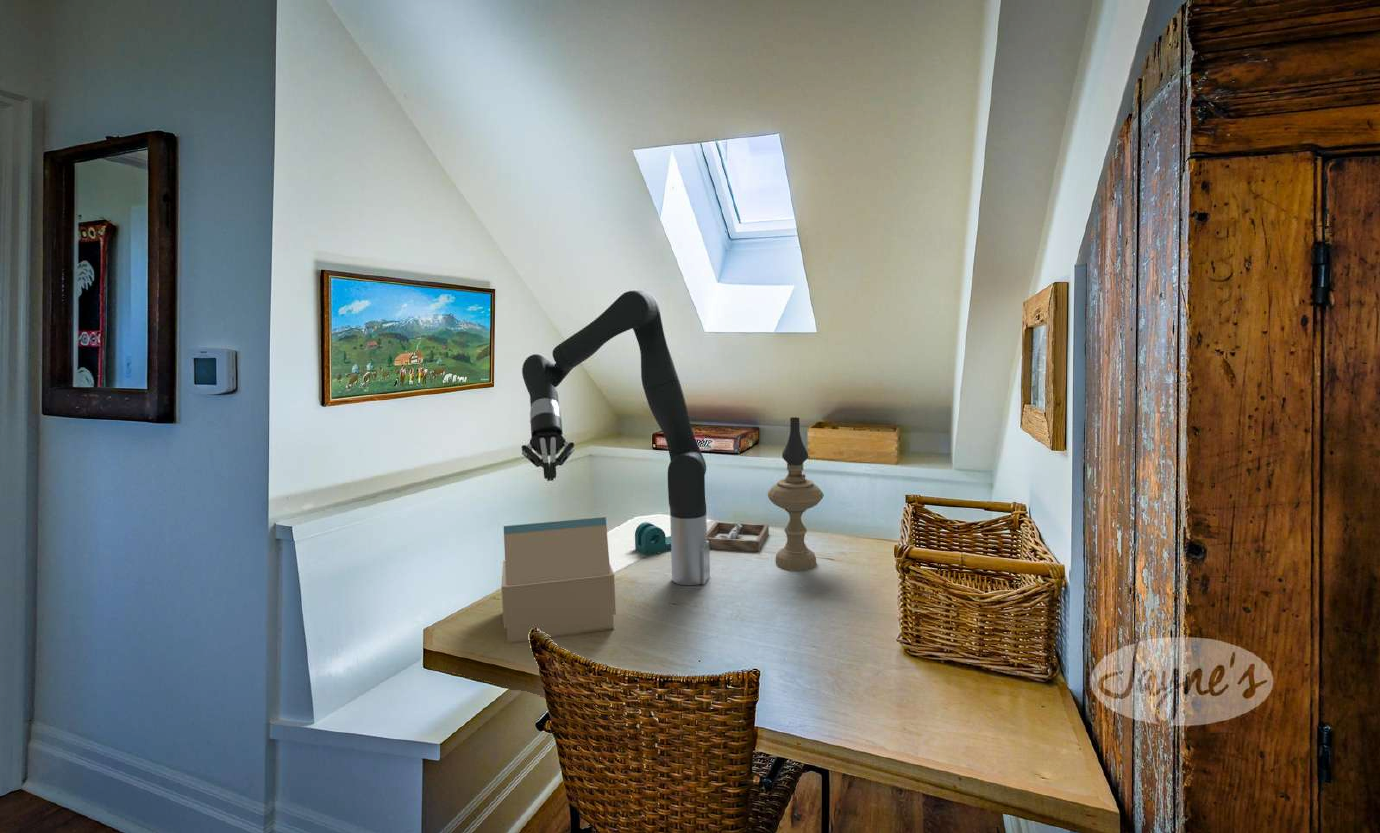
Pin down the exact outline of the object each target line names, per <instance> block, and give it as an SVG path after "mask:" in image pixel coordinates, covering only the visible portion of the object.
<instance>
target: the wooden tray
mask: <svg viewBox="0 0 1380 833" xmlns="http://www.w3.org/2000/svg"><path fill="white" fill-rule="evenodd" d="M736 523H737V524H740V525H742V526H743V527H741V528H740V530H739V532H738V534H745V535H746V534H748V535H749V534H751V535H758V536H757V538H756V539H755V540H754V539H739V538H736V539H726V538H724V537H723V538H722V537H716V536H717V535H718V533H728V534H729V533H730V532H731V530H732V529H733V528H734V527H735V525H734V523H733V522H727V521H726V522H724V521H722V522H721V521H715V522H714V523H713V525H712V526H711V527H710V528H709V530H707V541H709V550H710V549H711V550H712V549H714V550H729V551H747V552H758V553H759V552H760V550H761V548H762V547H763V545H764V543H765V542H766V540H767V538H768V536H769V535H770V531H769V530H770V527H769V526H770V524H764V523H745V522H736Z"/></svg>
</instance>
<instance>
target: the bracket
mask: <svg viewBox="0 0 1380 833" xmlns="http://www.w3.org/2000/svg"><path fill="white" fill-rule="evenodd" d="M634 546H635V547H634V549H635V551H637V552H639V553H640V552H641V554H642V553H643V554H642V555H644V556H649V554H650V555H654V553H655V554H659V553H658V552H660V553H665V552H671V535H670V536H666V533H665V531H664V530H663V529H662V528H661V527H659V526H656V525H655V524H653V523H651V522H648V521H645V522H641V523H640V524H639V525H638V526H637V527H636V529H635V531H634Z"/></svg>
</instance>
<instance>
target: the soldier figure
mask: <svg viewBox="0 0 1380 833" xmlns="http://www.w3.org/2000/svg"><path fill="white" fill-rule="evenodd" d="M732 523H734V525H735V527H734V528H733V529H732V530H731V532H730V533H728V534H726V535H724V534H721V535H720V536H719V537H718V538H726V539H737V537H738V534H739V533H738V532H739V530H740V528H741V527H743V526H742V525H740V524H737V523H738V522H732Z"/></svg>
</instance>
